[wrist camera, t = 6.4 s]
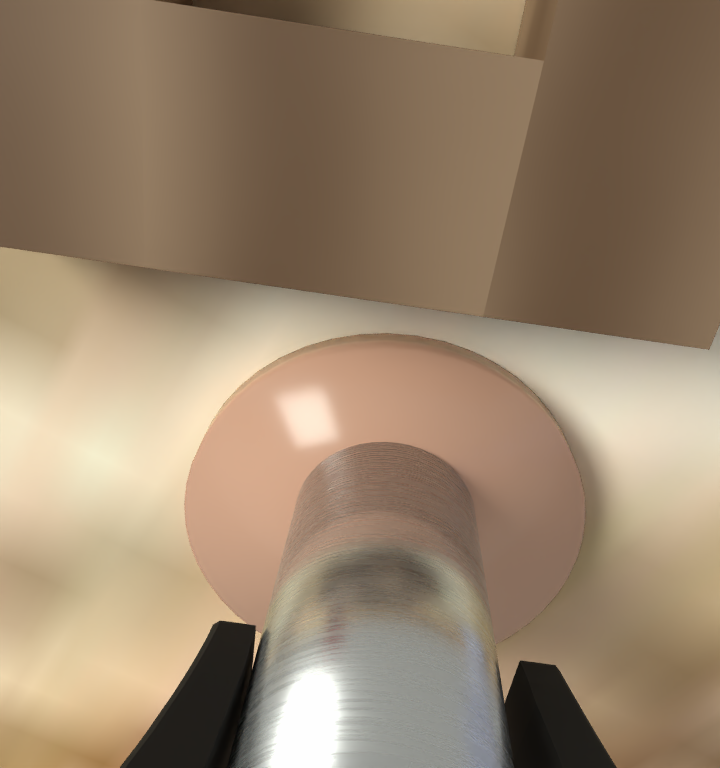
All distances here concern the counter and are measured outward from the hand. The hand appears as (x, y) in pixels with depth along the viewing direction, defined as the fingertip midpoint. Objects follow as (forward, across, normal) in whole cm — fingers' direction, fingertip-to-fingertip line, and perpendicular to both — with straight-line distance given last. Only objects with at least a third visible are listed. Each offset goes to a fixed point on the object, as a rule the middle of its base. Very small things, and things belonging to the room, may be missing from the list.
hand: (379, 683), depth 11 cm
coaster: (+5, 0, 0) cm, 5 cm away
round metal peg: (+4, 0, 0) cm, 4 cm away
